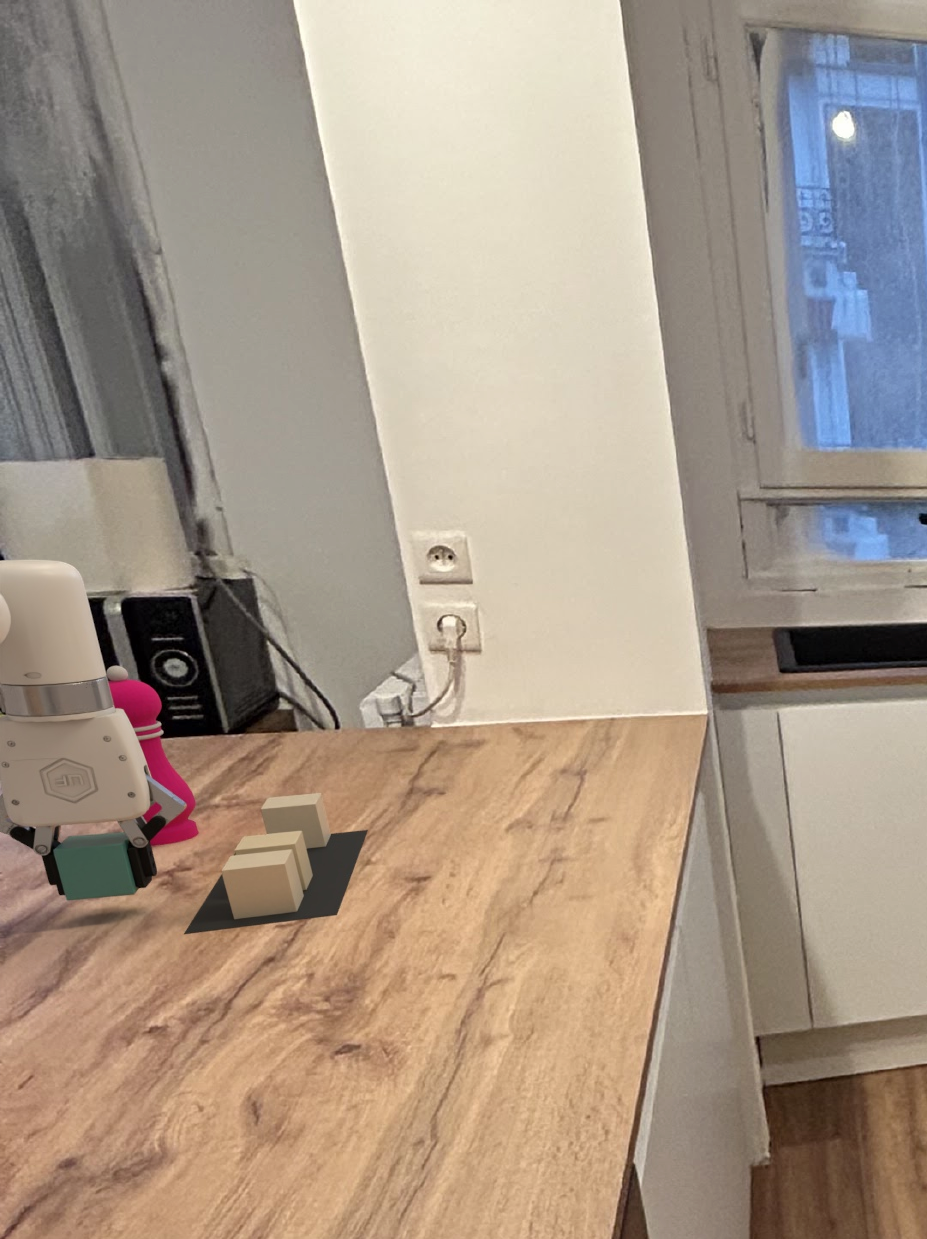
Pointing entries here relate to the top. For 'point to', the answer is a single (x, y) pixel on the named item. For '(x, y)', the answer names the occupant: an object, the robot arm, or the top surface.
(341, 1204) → the top surface
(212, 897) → the mat
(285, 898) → the cream block
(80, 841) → the teal block
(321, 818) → the cream block
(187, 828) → the pepper mill
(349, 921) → the top surface
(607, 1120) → the top surface
